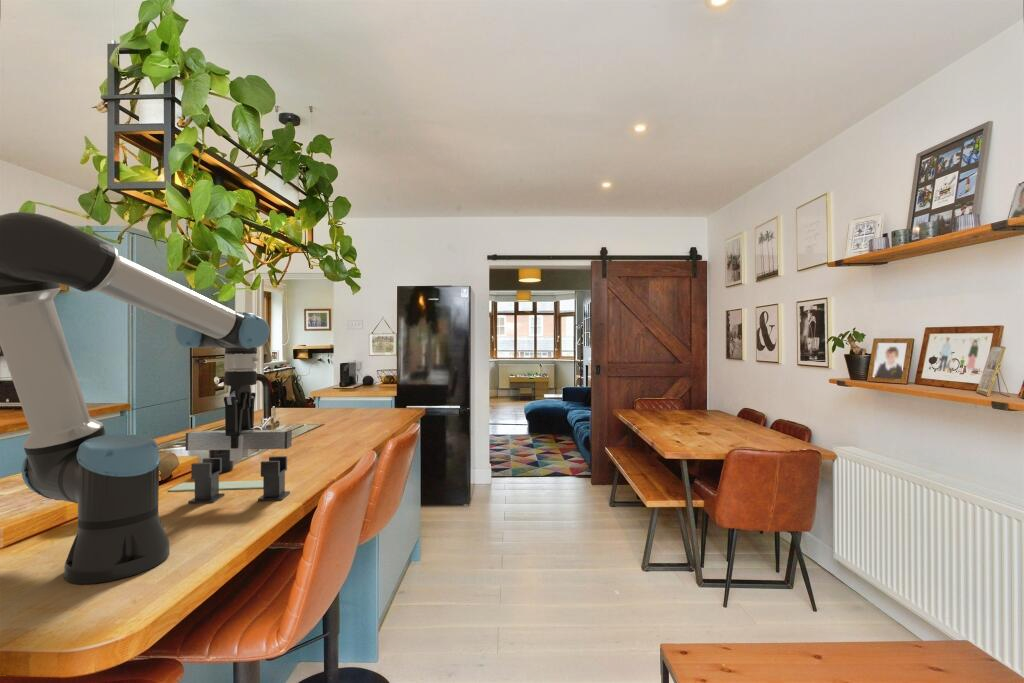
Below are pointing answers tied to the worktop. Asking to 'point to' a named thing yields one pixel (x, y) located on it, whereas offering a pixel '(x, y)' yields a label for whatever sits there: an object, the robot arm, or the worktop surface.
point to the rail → (249, 440)
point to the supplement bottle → (225, 456)
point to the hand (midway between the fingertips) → (239, 458)
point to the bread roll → (167, 464)
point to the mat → (222, 485)
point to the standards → (211, 467)
